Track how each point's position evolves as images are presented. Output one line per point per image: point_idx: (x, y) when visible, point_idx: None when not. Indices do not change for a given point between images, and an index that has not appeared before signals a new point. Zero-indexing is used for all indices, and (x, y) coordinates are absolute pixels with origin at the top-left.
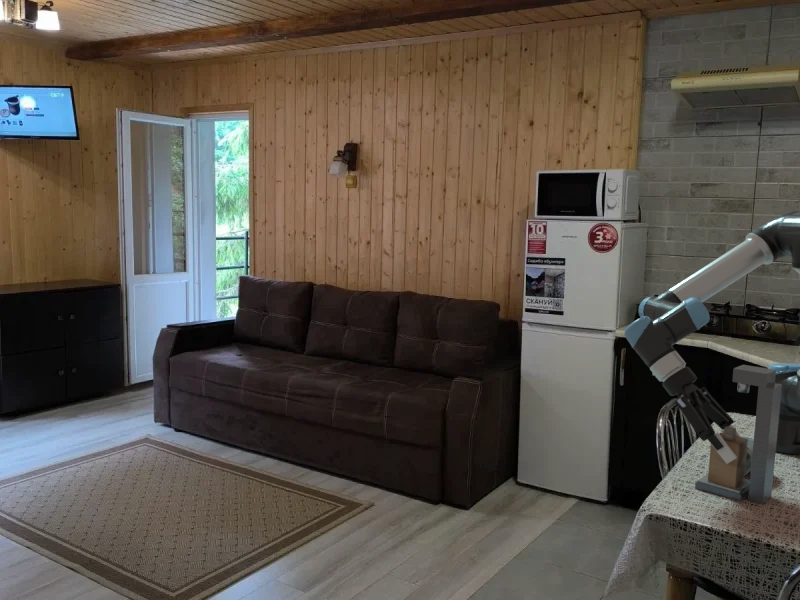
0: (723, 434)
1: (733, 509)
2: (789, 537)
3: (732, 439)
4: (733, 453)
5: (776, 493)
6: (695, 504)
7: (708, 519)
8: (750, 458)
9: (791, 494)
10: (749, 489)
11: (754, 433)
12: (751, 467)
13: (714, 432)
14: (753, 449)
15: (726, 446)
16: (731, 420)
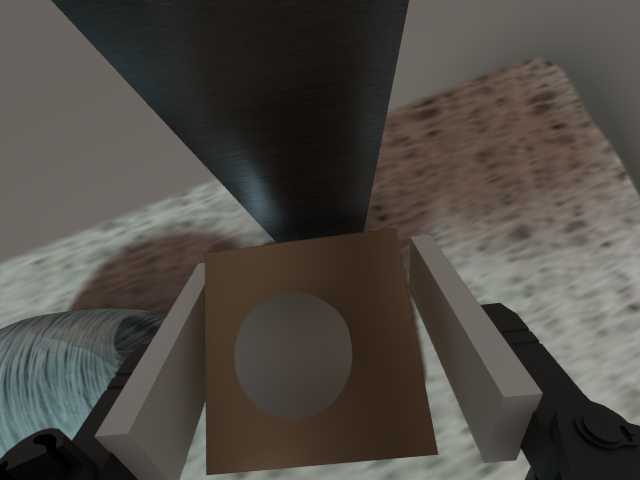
0: (237, 432)
1: (470, 231)
2: (505, 74)
3: (333, 305)
4: (432, 249)
5: (238, 212)
6: (551, 325)
7: (616, 240)
8: (135, 315)
9: (213, 185)
10: (364, 225)
11: (397, 52)
12: (370, 194)
13: (587, 411)
14: (379, 142)
15: (463, 287)
16: (14, 476)
